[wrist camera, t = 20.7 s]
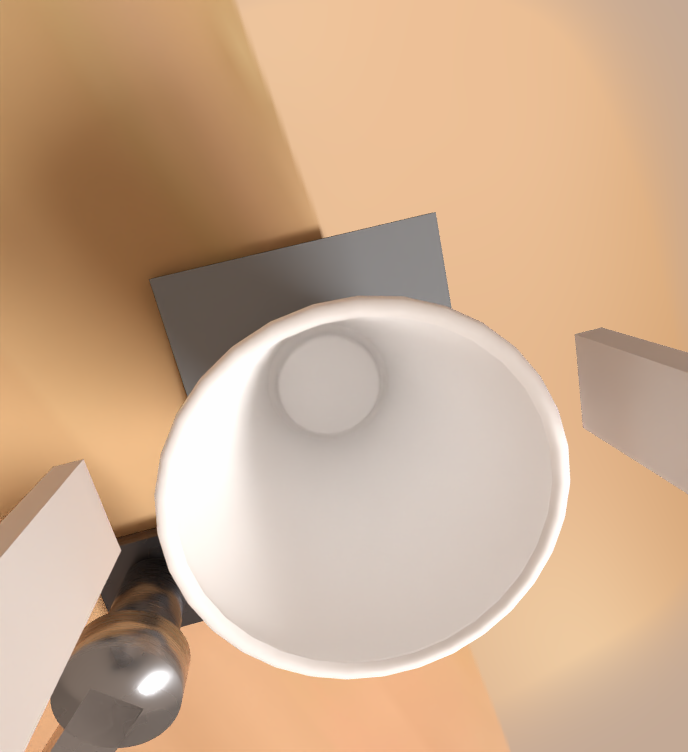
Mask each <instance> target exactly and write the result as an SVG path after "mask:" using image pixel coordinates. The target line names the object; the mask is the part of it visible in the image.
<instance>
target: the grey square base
mask: <svg viewBox="0 0 688 752" xmlns="http://www.w3.org/2000/svg"><path fill="white" fill-rule="evenodd" d="M116 539H117V542H118V544H119V547H120V549H121V552H120V554H119V556H118V558H117V560H116V562H115V564H114V567H113V569H112V571H111V573H110V575H109V577H108V579H107V581H106V583H105V585H104V587H103V589H102V591H101V596H102V598H103V601H104V603H105V605H106V608H107V610H108V612H109V613H112V612H117V611H123V610H140V611H146V612H150V613H154V614H157V615H159V616H161V617H163V618H165V619H167V620H169V621H170V622H172V623H173V624H174V625H175V626H176V627H178V629H179V630H180V627H183V626H186V625H190V624H194V623H197V622H201V621H203V620H202V618H201V617H200V616H199V615H198V614H197V613H196V612H195V611H194V610H193V609H192V608H191V606H190V605H189V604H188V603H187V601H186V600H185V598H184V596H183V594H182V593H181V591H180V589H179V587H178V586H177V584H176V582H175V581H174V579H173V577H172V575H171V574H170V572H169V570H168V566H167V563H166V560H165V557H164V554H163V550H162V547H161V544H160V541H159V537H158V534H157V528H153V529H150V530H146V531H142V532H138V533H134V534H131V535H127V536H123V537H119V538H116ZM109 613H108V614H109Z"/></svg>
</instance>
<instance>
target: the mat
mask: <svg viewBox="0 0 688 752" xmlns="http://www.w3.org/2000/svg"><path fill="white" fill-rule="evenodd" d="M149 281H150V284H151V287H152V290H153V293H154V296H155V299H156V302H157V305H158V309H159V312H160V315H161V318H162V321H163V324H164V327H165V330H166V333H167V336H168V339H169V342H170V345H171V348H172V351H173V354H174V357H175V360H176V363H177V366H178V369H179V372H180V375H181V379H182V382H183V385H184V388H185V391H186V394H187V397H188V396H189V394H190V393H191V391H192V390H193V388H194V387H195V385H196V384H197V382H198V381H199V379H200V378H201V377H202V376H203V375H204V374H205V373H206V372H207V371H208V370H209V369H210V368H211V367H212V366H213V365H214V364H215V363H216V362H217V361H218V360H219V359H220V358H221V357H222V356H223V355H224V354H225V353H226V352H227V351H228V350H229V349H230V348H231V347H232V346H234V345H235V344H237V343H238V342H240V341H241V340H243V339H244V338H246V337H247V336H249V335H251V334H252V333H254V332H255V331H257V330H258V329H260V328H261V327H263V326H264V325H266V324H267V323H269V322H270V321H273V320H275V319H278V318H280V317H283V316H285V315H288V314H290V313H293V312H295V311H298V310H300V309H303V308H305V307H308V306H310V305H313V304H317V303H323V302H328V301H333V300H338V299H344V298H349V297H354V296H403V297H408V298H412V299H417V300H421V301H426V302H431V303H435V304H440V305H444V306H447V307H449V308H451V303H450V297H449V290H448V284H447V279H446V272H445V266H444V260H443V254H442V248H441V242H440V236H439V230H438V224H437V218H436V213H435V212H434V213H430V214H425V215H421V216H417V217H412V218H408V219H404V220H399V221H395V222H391V223H387V224H382V225H378V226H374V227H370V228H366V229H361V230H357V231H352V232H349V233H344V234H340V235H335V236H331V237H327V238H323V239H318V240H314V241H310V242H306V243H301V244H297V245H293V246H289V247H284V248H280V249H276V250H272V251H267V252H263V253H259V254H255V255H250V256H246V257H242V258H238V259H233V260H229V261H225V262H221V263H216V264H212V265H208V266H204V267H199V268H195V269H191V270H187V271H182V272H178V273H174V274H169V275H165V276H161V277H157V278H152V279H149Z"/></svg>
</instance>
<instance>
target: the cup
mask: <svg viewBox="0 0 688 752" xmlns="http://www.w3.org/2000/svg"><path fill="white" fill-rule="evenodd" d="M569 486H570V471H569V454H568V444H567V440H566V437H565V433H564V430H563V425H562V422H561V418H560V414H559V411H558V408H557V406H556V405H555V403H554V401H553V399H552V397H551V395H550V393H549V391H548V389H547V388H546V386H545V384H544V382H543V380H542V378H541V376H540V375H539V374H538V373H537V372H536V371H535V369H533V367H532V366H531V365H530V364H529V362H528V361H527V360H526V359H525V358H524V357H523V355H522V354H521V353H520V352H519V351H518V350H517V349H516V347H514V346H513V345H512V344H510V343H509V342H508V341H506V340H505V339H504V338H502V337H501V336H500V335H498V334H497V333H496V332H494V331H493V330H492V329H490V328H489V327H488V326H486V325H485V324H484V323H482V322H480V321H478V320H475V319H473V318H471V317H469V316H466V315H464V314H462V313H460V312H458V311H456V310H453V309H451V308H449V307H447V306H444V305H440V304H435V303H431V302H426V301H421V300H417V299H412V298H408V297H403V296H354V297H349V298H344V299H338V300H333V301H328V302H323V303H317V304H313V305H310V306H308V307H305V308H303V309H300V310H298V311H295V312H293V313H290V314H288V315H285V316H283V317H280V318H278V319H275V320H273V321H270V322H269V323H267V324H266V325H264V326H263V327H261V328H260V329H258V330H257V331H255V332H254V333H252V334H251V335H249V336H247V337H246V338H244V339H243V340H241V341H240V342H238V343H237V344H235V345H234V346H232V347H231V348H230V349H229V350H228V351H227V352H226V353H225V354H224V355H223V356H222V357H221V358H220V359H219V360H218V361H217V362H216V363H215V364H214V365H213V366H212V367H211V368H210V369H209V370H208V371H207V372H206V373H205V374H204V375H203V376H202V377H201V378H200V379H199V381H198V382H197V384H196V385H195V387H194V388H193V390H192V391H191V393H190V394H189V396H188V397H187V399H186V400H185V402H184V403H183V405H182V406H181V408H180V410H179V411H178V413H177V414H176V416H175V419H174V421H173V424H172V426H171V429H170V432H169V434H168V437H167V439H166V442H165V445H164V447H163V450H162V452H161V455H160V462H159V469H158V475H157V482H156V489H155V508H156V522H157V534H158V537H159V541H160V544H161V547H162V550H163V554H164V557H165V560H166V563H167V566H168V570H169V572H170V574H171V575H172V577H173V579H174V581H175V582H176V584H177V586H178V587H179V589H180V591H181V593H182V594H183V596H184V598H185V600H186V601H187V603H188V604H189V605H190V606H191V608H192V609H193V610H194V611H195V612H196V613H197V614H198V615H199V616H200V617H201V618H202V620H203V621H204V622H205V623H206V624H207V625H208V626H209V627H210V628H211V629H212V630H213V631H214V632H215V633H217V634H218V635H219V636H221V637H222V638H224V639H225V640H226V641H228V642H229V643H230V644H232V645H233V646H235V647H236V648H237V649H239V650H240V651H241V652H244V653H246V654H248V655H250V656H252V657H254V658H256V659H259V660H261V661H263V662H265V663H267V664H269V665H272V666H274V667H276V668H280V669H284V670H288V671H292V672H296V673H300V674H303V675H307V676H313V677H325V678H337V679H357V678H369V677H381V676H387V675H391V674H395V673H399V672H403V671H407V670H411V669H415V668H419V667H422V666H424V665H426V664H429V663H431V662H433V661H436V660H438V659H441V658H443V657H445V656H448V655H450V654H453V653H454V652H456V651H458V650H459V649H461V648H462V647H464V646H466V645H467V644H469V643H470V642H472V641H474V640H475V639H477V638H479V637H480V636H482V635H483V634H485V633H486V632H487V631H488V630H489V629H491V627H493V626H494V625H495V624H496V623H497V622H499V621H500V620H501V619H502V618H503V617H504V616H506V615H507V614H508V613H509V612H510V611H511V610H512V609H513V608H514V607H515V606H516V604H517V603H518V602H519V601H520V600H521V598H522V597H523V596H524V595H525V593H526V592H527V591H528V590H529V589H530V588H531V586H532V585H533V584H534V583H535V581H536V579H537V578H538V576H539V574H540V572H541V571H542V569H543V567H544V565H545V564H546V562H547V560H548V558H549V557H550V555H551V553H552V552H553V549H554V546H555V543H556V540H557V538H558V535H559V532H560V529H561V527H562V523H563V521H564V518H565V513H566V506H567V499H568V493H569Z"/></svg>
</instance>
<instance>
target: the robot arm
mask: <svg viewBox="0 0 688 752" xmlns="http://www.w3.org/2000/svg"><path fill="white" fill-rule="evenodd" d="M575 341H576V352H577V364H578V376H579V386H580V398H581V410H582V420H583V428H585V429H586V430H588V431H589V432H591V433H592V434H594V435H596V436H597V437H599V438H600V439H602V440H604V441H605V442H607V443H608V444H610V445H612V446H613V447H615V448H616V449H618V450H619V451H621V452H623V453H624V454H626V455H627V456H629V457H631V458H632V459H633V460H635V461H637V462H638V463H640V464H641V465H643V466H645V467H646V468H648V469H650V470H651V471H652V472H654V473H656V474H657V475H659V476H660V477H662V478H664V479H665V480H667V481H668V482H670V483H671V484H673V485H675V486H676V487H678V488H679V489H681V490H683V491H684V492H686V493H687V494H688V353H687V352H683V351H680V350H677V349H673V348H670V347H667V346H663V345H660V344H656V343H653V342H649V341H646V340H643V339H639V338H636V337H632V336H629V335H626V334H622V333H619V332H615V331H612V330H608V329H605V328H598V329H594V330H590V331H586V332H582V333H578V334H575ZM120 552H121V549H120V547H119V544H118V542H117V539H116V537H115V534H114V532H113V530H112V527H111V525H110V522H109V520H108V517H107V515H106V513H105V510H104V508H103V505H102V503H101V500H100V498H99V496H98V493H97V491H96V488H95V486H94V483H93V481H92V479H91V476H90V474H89V471H88V469H87V466H86V464H85V462H84V459H82V460H78V461H74V462H70V463H66V464H62V465H59V466H55V467H52V468H51V469H50V471H49V472H48V473H47V474H46V475H45V476H44V477H43V478H42V479H41V480H40V481H39V482H38V483H37V484H36V485H35V486H34V488H33V489H32V490H31V491H30V492H29V493H28V494H27V495H26V496H25V497H24V498H23V499H22V500H21V501H20V502H19V503H18V504H17V506H16V507H15V508H14V509H13V510H12V511H11V512H10V513H9V514H8V515H7V516H6V517H5V518H4V519H3V520H2V521H1V522H0V752H24V751H25V749H26V747H27V745H28V743H29V741H30V739H31V737H32V735H33V733H34V731H35V729H36V726H37V724H38V722H39V720H40V718H41V716H42V714H43V712H44V710H45V708H46V706H47V704H48V702H49V699H50V697H51V695H52V693H53V691H54V689H55V687H56V685H57V683H58V681H59V679H60V677H61V675H62V672H63V670H64V668H65V666H66V664H67V662H68V660H69V658H70V656H71V654H72V652H73V650H74V648H75V645H76V643H77V641H78V639H79V637H80V635H81V633H82V631H83V629H84V627H85V625H86V623H87V621H88V618H89V616H90V614H91V612H92V610H93V608H94V606H95V604H96V602H97V600H98V598H99V596H100V594H101V591H102V589H103V587H104V585H105V583H106V581H107V579H108V577H109V575H110V573H111V571H112V569H113V567H114V564H115V562H116V560H117V558H118V556H119V554H120Z"/></svg>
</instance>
